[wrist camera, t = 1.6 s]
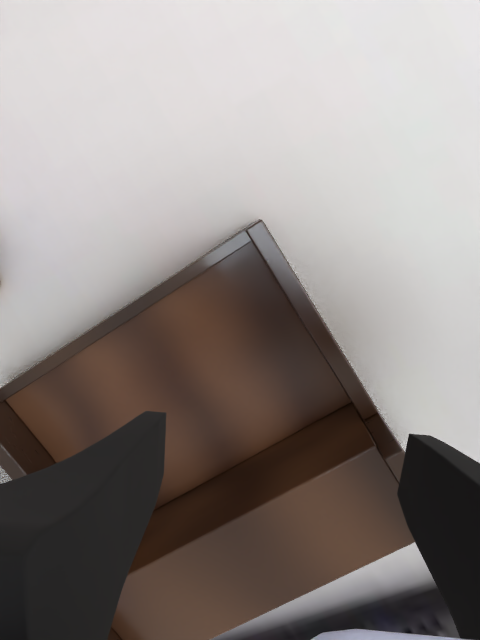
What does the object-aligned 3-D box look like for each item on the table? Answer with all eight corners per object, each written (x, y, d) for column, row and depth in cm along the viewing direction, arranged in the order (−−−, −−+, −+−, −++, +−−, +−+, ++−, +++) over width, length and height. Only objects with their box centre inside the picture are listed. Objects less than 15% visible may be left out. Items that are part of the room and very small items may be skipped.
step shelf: (161, 572, 26) (128, 700, 19) (7, 383, 23) (-96, 452, 16) (400, 449, 23) (461, 544, 16) (259, 218, 20) (263, 218, 14)
